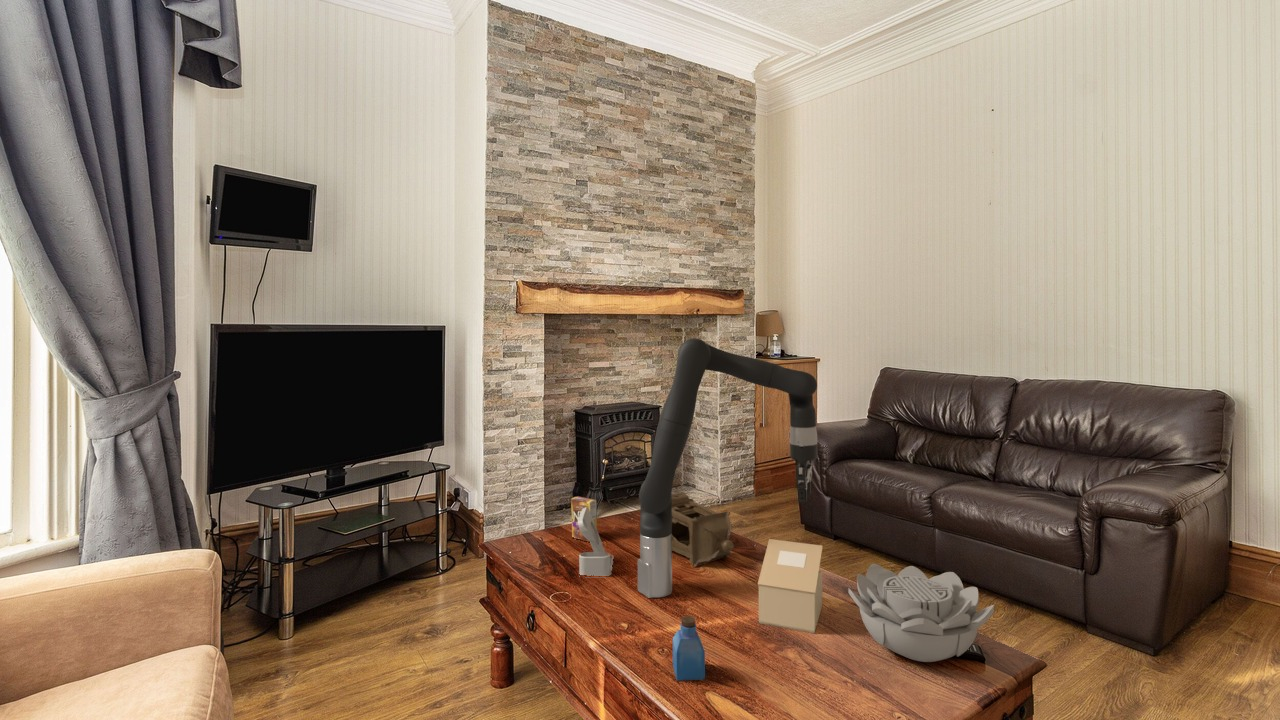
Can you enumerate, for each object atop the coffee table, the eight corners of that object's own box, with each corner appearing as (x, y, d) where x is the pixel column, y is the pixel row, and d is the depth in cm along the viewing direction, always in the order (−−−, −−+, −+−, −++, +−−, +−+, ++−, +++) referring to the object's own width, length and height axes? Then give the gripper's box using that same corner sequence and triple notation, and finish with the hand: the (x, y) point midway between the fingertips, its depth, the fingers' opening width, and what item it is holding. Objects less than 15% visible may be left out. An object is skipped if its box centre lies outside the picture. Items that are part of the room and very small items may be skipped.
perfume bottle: (672, 665, 138) (672, 613, 138) (699, 663, 139) (699, 612, 138) (676, 680, 132) (676, 626, 131) (704, 679, 133) (704, 625, 132)
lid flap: (769, 540, 170) (769, 538, 170) (822, 547, 164) (822, 545, 164) (757, 585, 157) (757, 583, 156) (815, 594, 151) (815, 592, 151)
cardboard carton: (770, 598, 172) (770, 563, 171) (822, 606, 166) (822, 570, 166) (758, 623, 157) (758, 585, 157) (814, 633, 152) (814, 594, 151)
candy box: (571, 539, 222) (570, 498, 222) (578, 536, 226) (578, 495, 225) (590, 543, 218) (589, 501, 217) (597, 540, 221) (597, 499, 220)
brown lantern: (748, 574, 196) (755, 517, 196) (706, 580, 186) (713, 520, 186) (682, 541, 225) (687, 491, 225) (642, 544, 215) (648, 492, 215)
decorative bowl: (830, 618, 159) (830, 562, 159) (945, 619, 158) (946, 562, 158) (870, 686, 129) (871, 617, 128) (1013, 687, 128) (1014, 617, 127)
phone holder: (610, 577, 188) (609, 520, 187) (577, 577, 188) (576, 520, 187) (614, 556, 205) (613, 504, 204) (584, 556, 205) (583, 504, 204)
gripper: (793, 437, 180) (794, 491, 181) (785, 446, 167) (787, 504, 167) (820, 438, 177) (821, 493, 178) (814, 447, 164) (815, 506, 165)
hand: (804, 498), depth 173 cm, fingers open, 8 cm apart
